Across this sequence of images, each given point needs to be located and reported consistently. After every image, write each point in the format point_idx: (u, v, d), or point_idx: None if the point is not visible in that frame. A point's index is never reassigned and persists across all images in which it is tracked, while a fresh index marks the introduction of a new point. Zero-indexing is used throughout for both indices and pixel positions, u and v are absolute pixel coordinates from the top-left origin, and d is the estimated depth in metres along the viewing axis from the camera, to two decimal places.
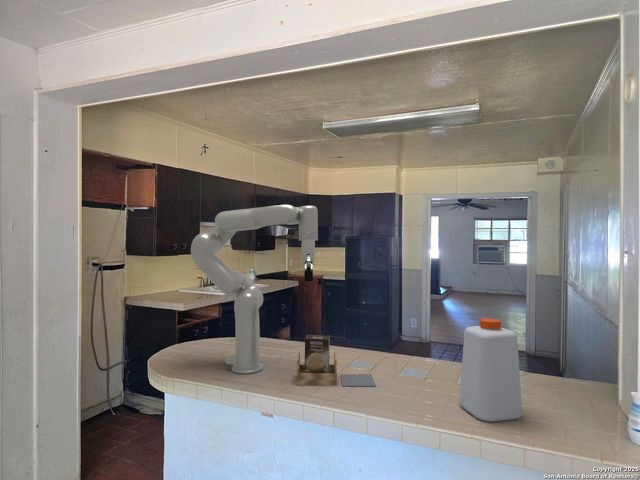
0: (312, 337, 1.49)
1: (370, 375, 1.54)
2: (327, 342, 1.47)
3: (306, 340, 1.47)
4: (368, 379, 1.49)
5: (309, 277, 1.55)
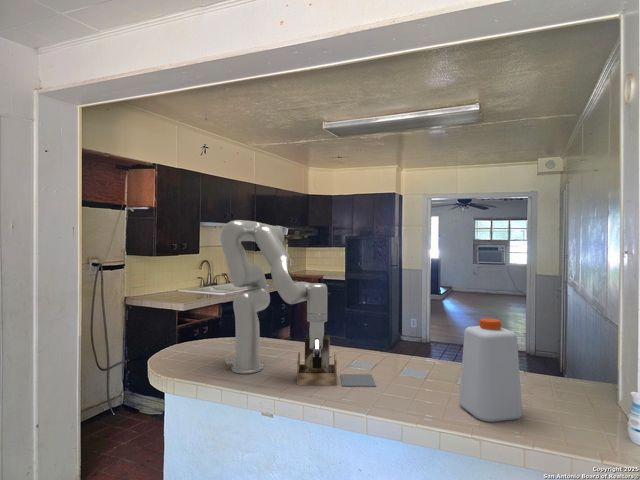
0: None
1: (370, 375, 1.54)
2: (327, 342, 1.47)
3: (306, 340, 1.47)
4: (368, 379, 1.49)
5: (317, 364, 1.45)
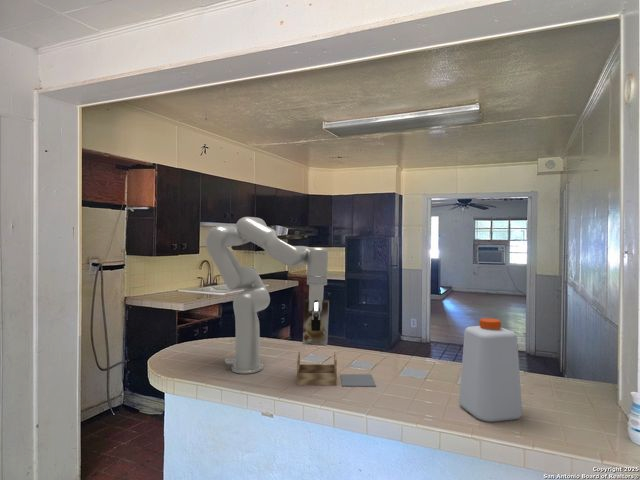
0: None
1: (370, 375, 1.54)
2: (326, 305, 1.47)
3: (305, 303, 1.47)
4: (368, 379, 1.49)
5: (316, 327, 1.46)
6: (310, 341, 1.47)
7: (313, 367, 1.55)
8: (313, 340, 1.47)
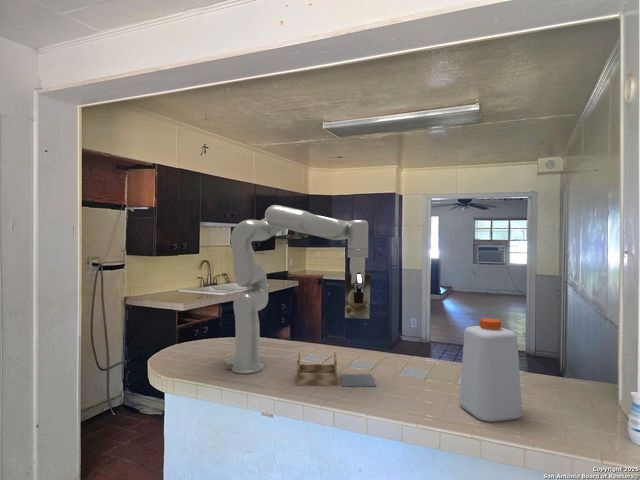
0: None
1: (370, 375, 1.54)
2: (369, 277, 1.46)
3: (347, 276, 1.46)
4: (368, 379, 1.49)
5: (359, 299, 1.44)
6: (353, 314, 1.46)
7: (313, 367, 1.55)
8: (355, 313, 1.46)
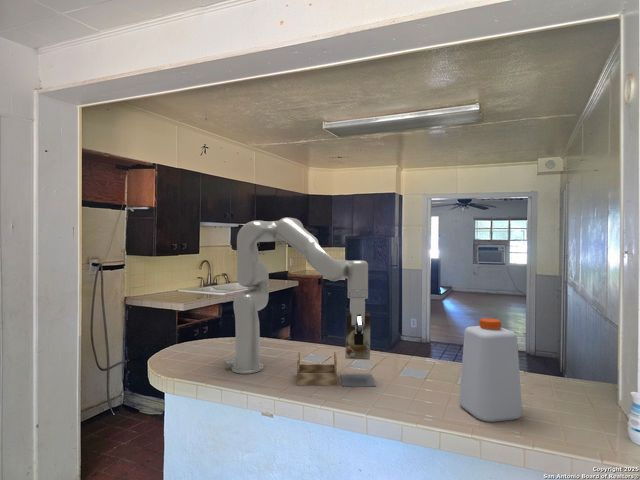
0: None
1: (370, 375, 1.54)
2: (369, 318, 1.46)
3: (347, 317, 1.46)
4: (368, 379, 1.49)
5: (359, 341, 1.44)
6: (353, 355, 1.46)
7: (313, 367, 1.55)
8: (356, 355, 1.46)
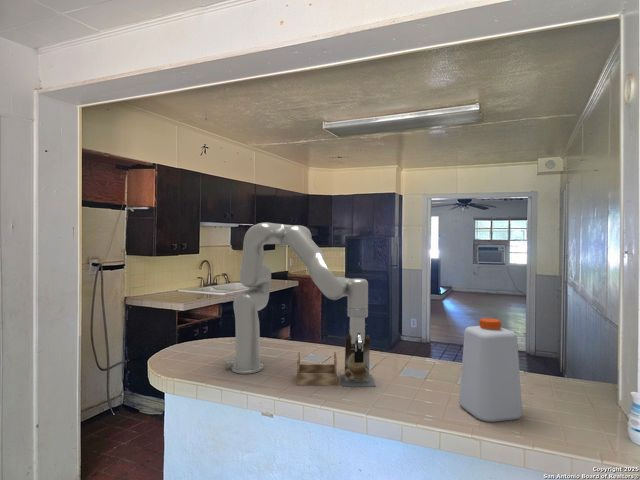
0: None
1: (370, 375, 1.54)
2: (368, 341, 1.46)
3: (347, 340, 1.46)
4: None
5: (359, 359, 1.43)
6: (353, 378, 1.46)
7: (313, 367, 1.55)
8: (355, 377, 1.46)
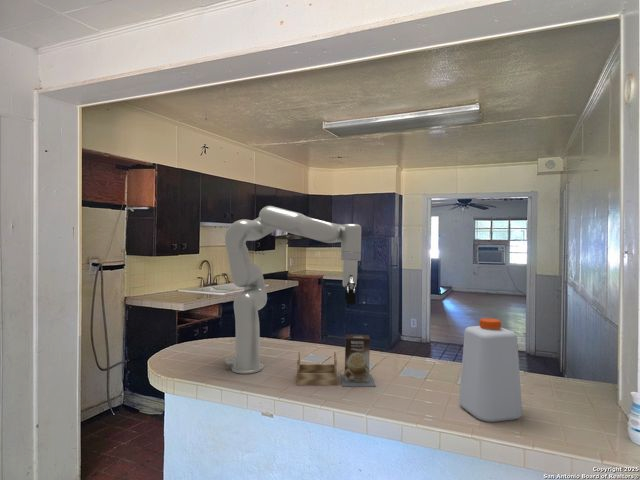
0: (352, 337, 1.48)
1: (370, 375, 1.54)
2: (368, 342, 1.46)
3: (347, 340, 1.46)
4: None
5: (351, 300, 1.47)
6: (353, 378, 1.46)
7: (313, 367, 1.55)
8: (355, 377, 1.46)
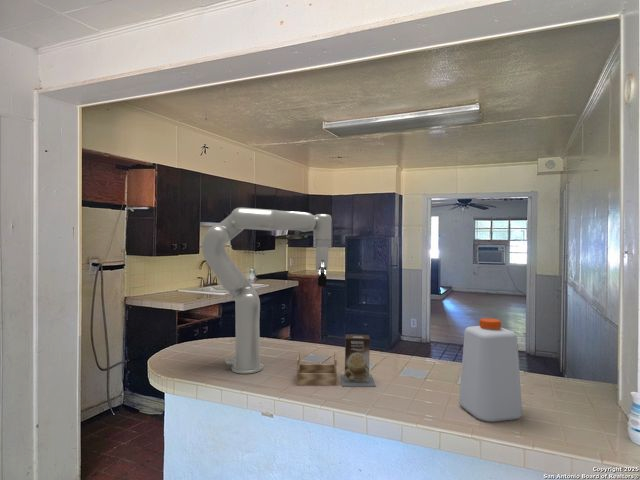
0: (352, 337, 1.48)
1: (370, 375, 1.54)
2: (368, 342, 1.46)
3: (347, 340, 1.46)
4: None
5: (323, 282, 1.62)
6: (353, 378, 1.46)
7: (313, 367, 1.55)
8: (355, 378, 1.46)
